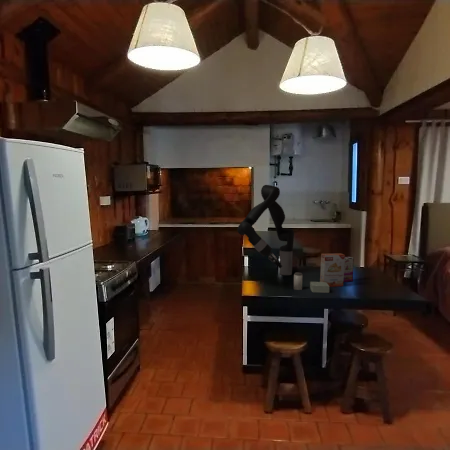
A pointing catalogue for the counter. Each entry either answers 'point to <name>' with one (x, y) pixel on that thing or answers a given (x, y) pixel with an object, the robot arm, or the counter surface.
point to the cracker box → (332, 269)
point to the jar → (298, 281)
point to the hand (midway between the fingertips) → (280, 265)
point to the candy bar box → (348, 269)
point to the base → (319, 287)
